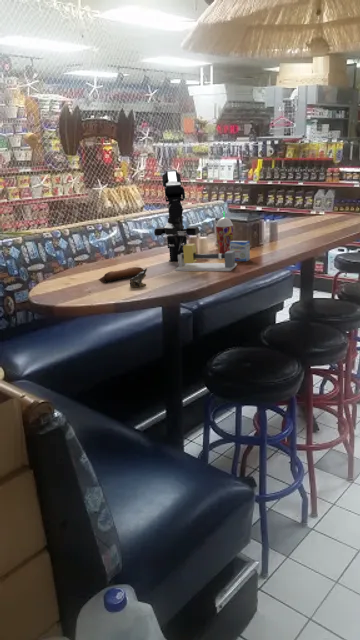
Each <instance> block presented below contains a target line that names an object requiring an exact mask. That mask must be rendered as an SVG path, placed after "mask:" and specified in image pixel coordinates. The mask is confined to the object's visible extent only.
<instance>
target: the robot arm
mask: <svg viewBox="0 0 360 640" xmlns="http://www.w3.org/2000/svg"><path fill="white" fill-rule="evenodd" d="M181 177H182V176H181V173H179V172H178V170H177V169H167V170H165V173H164V174H163V175H162V187H163V188H164V197H165V202H166V203H167V208H168V209H167V210H168V217H167V222H166V224H165V226H159V227H157V228H155V229H154V231H153V232H154V233H153V234H154V236H156V237H157V236H158V237H159V236H162V235H163V234H165V235H166V241H167V243H166V245H167V249H169V259H168V262H178V255H181V253H184V251H183V246H184V245H186V244H188V240H187V239H188V238H187V236H196V235H199V234H200V228H199V226H189V227H186V228H185V226H184V223H183V219H184V216H183V213H184V208H183V205H182V204H183V203H182V202H183V201H185V199H186V194H185V193H186V191H185V188H184V186H183V185H182V178H181Z"/></svg>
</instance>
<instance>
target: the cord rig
mask: <svg viewBox="0 0 360 640" xmlns="http://www.w3.org/2000/svg"><path fill="white" fill-rule="evenodd" d="M193 258H194V259H197V260H198V259H199V260H200V259H202V260H203V259H204V260H207V259H209V260H210V259H211V260H213V259H214V260H215V259H217V260H222V259H223V260H224V262H194V263H184V253H181V255H178V261H177V264H178V266H177V267H176V268H175V269H174V271H176V272H179V271H181V272H183V271H185V272H187V271H188V272H189V271H191V272H231V271H232V270H233V269H234V268H236V267H237V265H238V263H237V262H236V261H235V251H227V252H226V253H225V254H220V253H196V254H193Z"/></svg>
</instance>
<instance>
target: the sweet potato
mask: <svg viewBox="0 0 360 640" xmlns="http://www.w3.org/2000/svg"><path fill="white" fill-rule="evenodd" d="M143 270H144V269H143V268H142V267H138V266H136V267H135V266H133V267H128V268H125V269H121V270H120V269H119V270H114V271H113V270H112V271H111V270H110V271H108V272H106V273H105V274H104V275H102V276H101V277H100V278H99V279H98V281H99V282H102V283H103V284H105V283H109V282H113V281H118V280H120V279H126V278H131V277H132V278H134V277H136V276H137V275H138V274H139V273H140V272H142V271H143Z"/></svg>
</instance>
